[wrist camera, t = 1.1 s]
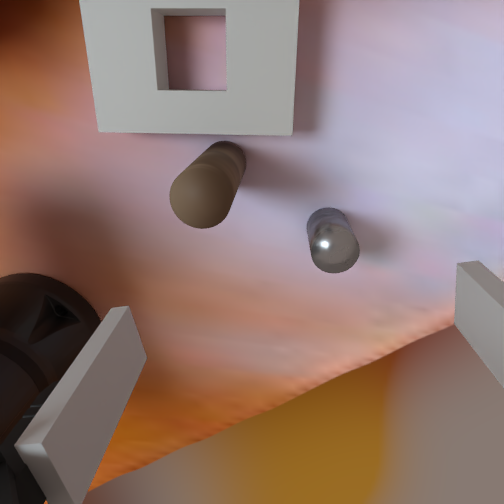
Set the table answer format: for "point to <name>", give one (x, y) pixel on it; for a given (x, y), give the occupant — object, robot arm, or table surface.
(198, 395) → the table surface
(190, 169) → the walnut dowel
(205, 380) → the table surface
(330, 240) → the cylinder
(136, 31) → the socket block
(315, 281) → the table surface
